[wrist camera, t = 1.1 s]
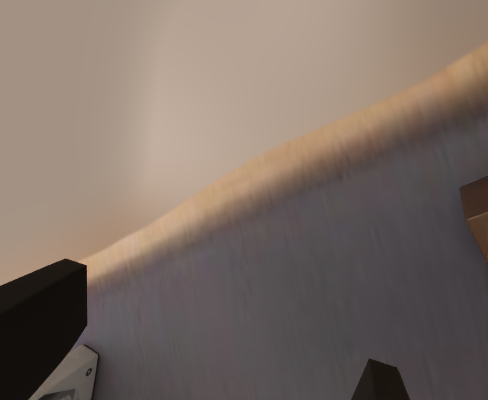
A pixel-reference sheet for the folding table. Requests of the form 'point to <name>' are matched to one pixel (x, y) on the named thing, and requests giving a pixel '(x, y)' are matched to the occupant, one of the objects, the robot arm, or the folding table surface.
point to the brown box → (477, 211)
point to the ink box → (71, 377)
